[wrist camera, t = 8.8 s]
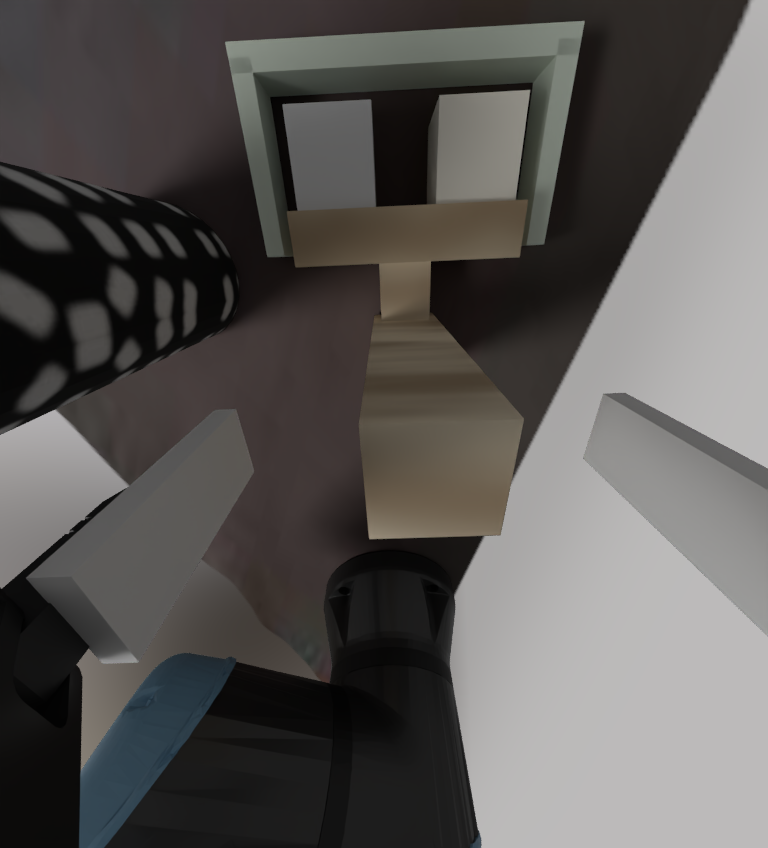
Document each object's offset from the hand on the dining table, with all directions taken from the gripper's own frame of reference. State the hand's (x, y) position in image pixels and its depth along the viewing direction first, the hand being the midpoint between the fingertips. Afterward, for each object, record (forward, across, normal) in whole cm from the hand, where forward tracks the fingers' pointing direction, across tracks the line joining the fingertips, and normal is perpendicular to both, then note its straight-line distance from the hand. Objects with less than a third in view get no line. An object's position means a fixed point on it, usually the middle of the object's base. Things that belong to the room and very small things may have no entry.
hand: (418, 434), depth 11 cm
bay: (+13, 0, -10) cm, 17 cm away
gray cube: (+13, +3, -10) cm, 17 cm away
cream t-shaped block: (+13, 0, -3) cm, 13 cm away
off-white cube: (+13, -4, -10) cm, 17 cm away
